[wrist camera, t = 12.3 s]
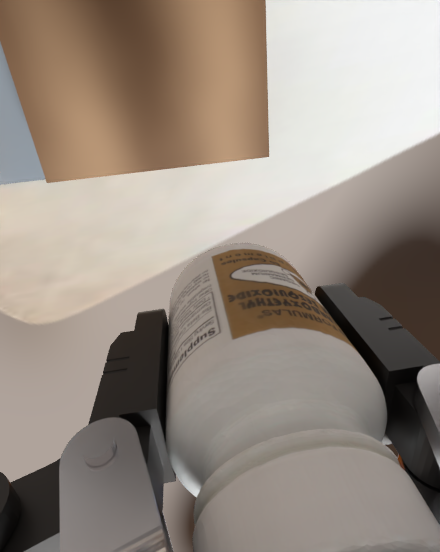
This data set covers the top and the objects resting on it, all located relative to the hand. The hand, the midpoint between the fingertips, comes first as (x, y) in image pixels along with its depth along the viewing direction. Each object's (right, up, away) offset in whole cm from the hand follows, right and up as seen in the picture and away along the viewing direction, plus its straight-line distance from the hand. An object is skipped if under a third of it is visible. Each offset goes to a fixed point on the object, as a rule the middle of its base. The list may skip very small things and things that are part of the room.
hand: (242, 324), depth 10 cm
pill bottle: (0, +1, +1) cm, 2 cm away
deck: (-5, +13, +10) cm, 17 cm away
